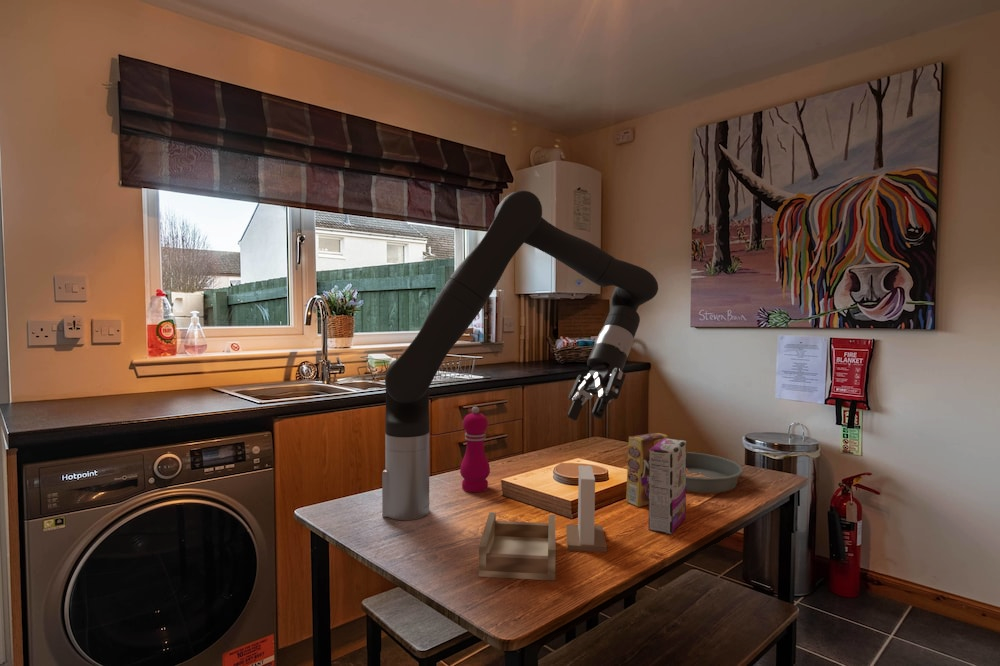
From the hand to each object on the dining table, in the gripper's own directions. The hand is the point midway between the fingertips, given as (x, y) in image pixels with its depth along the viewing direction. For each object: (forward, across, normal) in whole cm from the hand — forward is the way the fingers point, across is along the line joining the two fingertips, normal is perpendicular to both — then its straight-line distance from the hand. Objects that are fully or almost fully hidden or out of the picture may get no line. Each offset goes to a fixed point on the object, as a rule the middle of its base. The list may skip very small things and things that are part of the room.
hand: (583, 417), depth 114 cm
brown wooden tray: (+30, +4, -3) cm, 30 cm away
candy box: (+6, -8, +28) cm, 30 cm away
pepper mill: (+18, -34, 0) cm, 38 cm away
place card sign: (+21, +2, +9) cm, 23 cm away
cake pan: (-8, -16, +46) cm, 50 cm away
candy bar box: (+11, +3, +26) cm, 28 cm away
